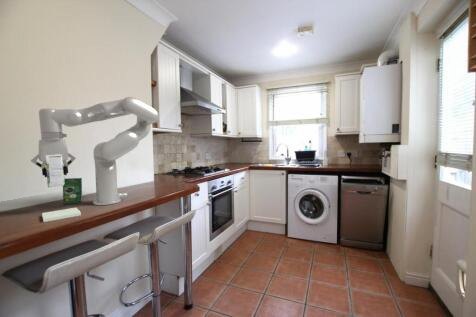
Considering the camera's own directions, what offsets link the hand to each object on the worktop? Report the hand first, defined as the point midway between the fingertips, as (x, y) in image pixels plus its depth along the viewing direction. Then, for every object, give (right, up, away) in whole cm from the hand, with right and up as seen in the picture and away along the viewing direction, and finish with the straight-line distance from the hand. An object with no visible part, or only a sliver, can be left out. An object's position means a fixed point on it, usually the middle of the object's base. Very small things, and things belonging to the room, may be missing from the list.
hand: (55, 175), depth 101 cm
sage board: (+8, -17, -7) cm, 20 cm away
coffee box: (-3, -16, +15) cm, 22 cm away
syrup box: (0, -5, 0) cm, 5 cm away
